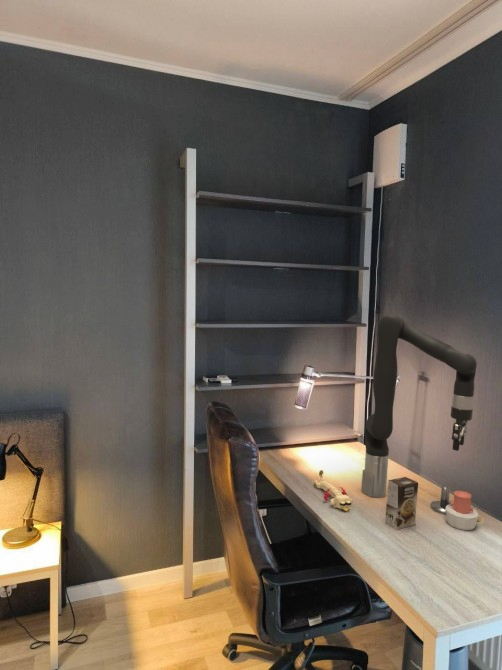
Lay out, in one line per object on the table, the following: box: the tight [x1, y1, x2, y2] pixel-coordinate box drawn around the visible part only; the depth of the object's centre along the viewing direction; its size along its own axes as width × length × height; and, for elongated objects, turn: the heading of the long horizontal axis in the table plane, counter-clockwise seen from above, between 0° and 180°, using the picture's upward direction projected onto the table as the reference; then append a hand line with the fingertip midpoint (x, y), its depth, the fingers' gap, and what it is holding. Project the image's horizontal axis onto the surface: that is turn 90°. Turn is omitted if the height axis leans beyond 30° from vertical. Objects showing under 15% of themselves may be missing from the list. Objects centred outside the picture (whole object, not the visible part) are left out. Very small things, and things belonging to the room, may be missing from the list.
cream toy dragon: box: [312, 469, 354, 512], centre depth 188 cm, size 10×9×25 cm
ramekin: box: [445, 505, 479, 531], centre depth 171 cm, size 11×11×5 cm
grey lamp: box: [430, 484, 452, 515], centre depth 182 cm, size 10×10×9 cm
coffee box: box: [384, 476, 419, 530], centre depth 169 cm, size 9×6×16 cm
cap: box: [450, 490, 474, 514], centre depth 171 cm, size 8×6×6 cm
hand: (458, 447), depth 180 cm, fingers open, 8 cm apart
